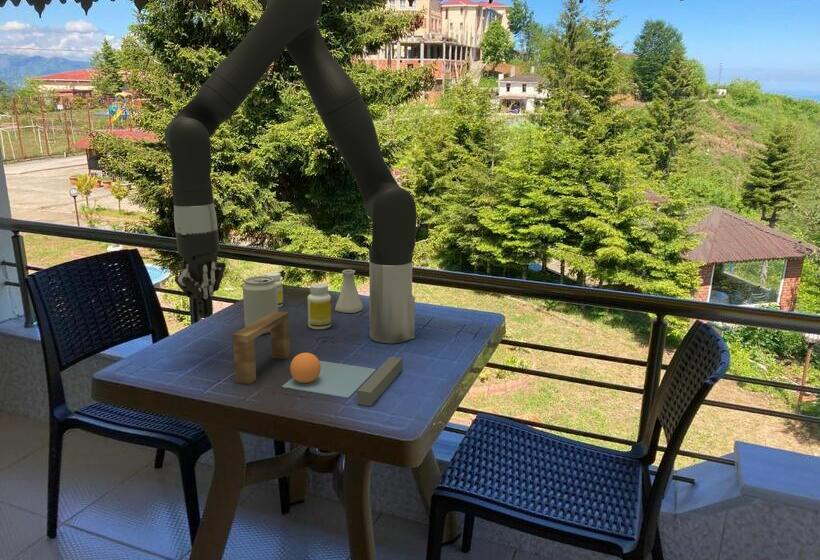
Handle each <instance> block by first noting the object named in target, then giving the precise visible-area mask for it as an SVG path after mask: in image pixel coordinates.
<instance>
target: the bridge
mask: <svg viewBox="0 0 820 560" xmlns="http://www.w3.org/2000/svg"><path fill="white" fill-rule="evenodd" d="M289 320H290V319H289V312H288V311H280V310H278V311H274V312H272V313H270V314H268V315H266V316H265V317H263V318H261V319H259V320H257V321H256V322H254V323H252V324H250V325H248V326H246V327H245V326H244V327H243V328H241V329H239V330H237V331H236V332H234V333H233V334H232V345H233V362H234V377H235V383H241V384H247V385H251V384H253V383H254V382H256V381H257V371H256V369H257V368H256V355H255V339H256V338H258V337H259V336H261V335H263V333H265V332H266V331H268V330H270V331H271V332H270V348H271V349H270V350H271V358H273V359H274V358H275V359H280V360H281V359H282V360H286V359H288V358H289V357H291V348H290V347H291V346H290V324H289V323H290V321H289ZM265 334H266V333H265Z"/></svg>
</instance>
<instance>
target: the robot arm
mask: <svg viewBox="0 0 820 560" xmlns="http://www.w3.org/2000/svg"><path fill="white" fill-rule="evenodd" d="M265 6H266V7H265V10H264V11H263V12H262V14H261V16H260V17H259V18H258V20H257V22H256V23H255V24H254V26H253V27H252V28H251V30H249V32H248V34H247V35H246V36H245V37H244V38H243V39H242V40H241V41H240V43H239V44H237V46H236V47H235V48H234V49H233V50H232V51H231V52H230V53H229V54H228V55H227V56H226V57H225V58H224V60H223V61H221V63H220V64H219V65H218V66H217V67H216V69H215V70H214V71H213V72H212V73H211V74H210V75H209V77H208V78H207V79H206V80H205V81H204V83H202V84H203V85H201V87H200V88H199V89H198V91H197V92H196V94H195V96H194V97H193V98H192V99H191V100H190V101H189V102H188V103H187V104H186V105H185V106H184V107H182V109H181V110H179V112H178V113H177V114H175V116H174V117H173V119H171V121H170V122H169V123H168V125H167V126H166V128H165V131H164V142H165V145H166V147H167V148H168V150H169V154H170V160H171V166H172V168H171V169H172V176H171V177H172V178H171V190H172V191H171V192H172V200H173V201H172V202H173V222H174V231H175V239H176V241H175V242H176V247H177V248H176V249H177V253H178V254H179V255H180V256H181V257H182V264H181V265H182V266H181V268H182V272H181V274H180V275H176V276H174V282H175V283H176V284H177V286H178V287H179V288H180V289H181V290H182V292H183V293H184V294H185V295H186V297H188V298H190V299H193V298H194V299H195V300H196V306H197V314H198V316H199V317H201V318H208V317H210V316H212V315H213V314H214V313H213V312H214V307H213V306H214V305H213V296H214V295H215V294H214V292H218V291H219V288H220V286H221V282H222V280H223V276H224V274H225V270H226V266H227V265H226V262H220V261H219V260H218V256H217V254H216V253H218V252H219V251H220V249H221V248H220V247H221V246H220V239H219V237H220V236H219V229H218V219H217V212H216V208H215V202H214V192H213V184H212V177H211V168H212V166H211V165H212V152H211V151H212V149H211V148H212V147H211V146H212V145H211V139H210V138H211V137H212V136H213V134H214V133H215V132H216V131H217V129H218V128H219V127H220V125H222V124H223V123H225V122H226V121H228V120H229V119H230V118H231V117H232V116H233V115H234V114H235V113H236V111H237V110H238V109H239V107H241V105H242V104H243V103H244V101H246V99H247V98H248V96H249V95H250V94H251V93H252V92H253V90H254V89H255V87H256V86H257V84H258V83H259V82H260V80H261V79H262V77H264V74H265V73H267V71H268V70H269V69H270V67H271V66H272V64H273V63H274V62H275V61H276V59H277V58H278V57H279V56H280V55H281V54H282V53H283V52H284V50H285V49H286V51H287V52H288V53H289V56H290V57H291V58H292V60H293V62H294V64H295V66H296V67H297V69H298V71H299V73H300V76H301V78H302V80H303V83H304V85H305V87H306V90H307V91H308V94H309V96H310V99H311V100H312V102H313V104H314V107H315V109H316V111H317V113H318V115H319V117H320V120H321V122H322V123H323V126H324V127H325V129H326V131H327V133H328V136H329V137H330V139H331V141H332V142H333V144H334V145H335V148H336V149H337V151H338V152H339V154H340V156H341V157H342V159H343V160H344V162H345V164H346V165H347V166H348V169H349V171H351V174H352V176H353V178H354V180H355V182H356V184H357V188H358V189H359V192H360V195H361V197H362V200H363V203H364V206H365V208H366V211H367V214H368V216H369V217H370V219H371V220H372V221H371V222H372V223H371V224H372V225H371V226H372V227H371V228H372V229H371V231H372V232H371V233H372V235H371V236H372V238H371V246H370V247H369V251H368V253H369V255H368V258H369V261H368V263H369V265H368V267H369V272H368V273H369V274H368V275H369V327H368V328H369V338H370V339H371V340H373V341H375V342H377V343H383V344H397V343H399V344H400V343H403V342H407V341H409V340H414V339H415V311H416V310H415V305H416V302H415V301H416V300H415V299H416V298H415V296H414V295H413V256H414V252H415V251H414V250H415V248H416V237H417V235H416V233H417V206H416V205H417V204H416V201H415V199H414V197H413V195H412V194H411V192H409V191H408V190H407V189H405V188H403V187H401V186H400V185H399V184H398V182H397V181H396V178H395V177H394V176H393V174H392V172H391V170H390V168H389V167H388V166H387V163H386V161H385V159H384V156H383V153H382V151H381V146H380V143H379V138H378V134H377V131H376V126H375V124H374V120H373V119H372V115H371V113H370V111H369V109H368V107H367V104H366V102H365V100H364V98H363V96H362V94H361V92H360V91H359V89H358V87H357V85H356V84H355V83H354V81H353V79H351V77H350V76H349V74H348V73H347V72H346V70H345V69H344V68H343V67H342V66H341V65H340V64H339V63H338V61H337V60H336V59H335V58H334V56H333V54H332V53H331V51H330V49H329V48H328V45H327V44H326V42H325V39H324V37H323V35H322V32H321V29H320V27H319V25H318V21H319V19H320V17H321V14H322V10H323V0H266V5H265Z"/></svg>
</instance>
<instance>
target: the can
mask: <svg viewBox="0 0 820 560" xmlns="http://www.w3.org/2000/svg"><path fill="white" fill-rule="evenodd" d="M273 280H274V278H272V277H269V276H264V275H254V276H250V277H249V276H248V277H247V278H245V280H244V284H243V285H242V300H243V302H242V303H243V315H244V317H243V319H244V328H245V327H246V326H248V325H250V324H252V323H254V322H256V321H257V320H259V319H261V318H263V317H265V316H266V315H268V314H270V313H272V312H274V311H279V307H278V299H277V284H276V283H275V282H274V281H273ZM269 333H270V334H271V331H270V330H268V331H266V332H265V333H263V334H269ZM263 334H262V335H263Z"/></svg>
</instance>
